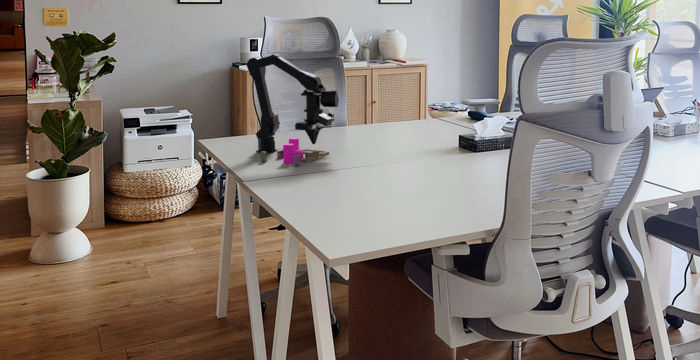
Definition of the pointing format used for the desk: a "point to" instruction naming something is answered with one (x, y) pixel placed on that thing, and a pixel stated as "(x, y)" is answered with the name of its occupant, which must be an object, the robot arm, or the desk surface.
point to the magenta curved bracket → (292, 151)
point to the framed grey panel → (309, 156)
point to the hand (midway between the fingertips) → (313, 144)
